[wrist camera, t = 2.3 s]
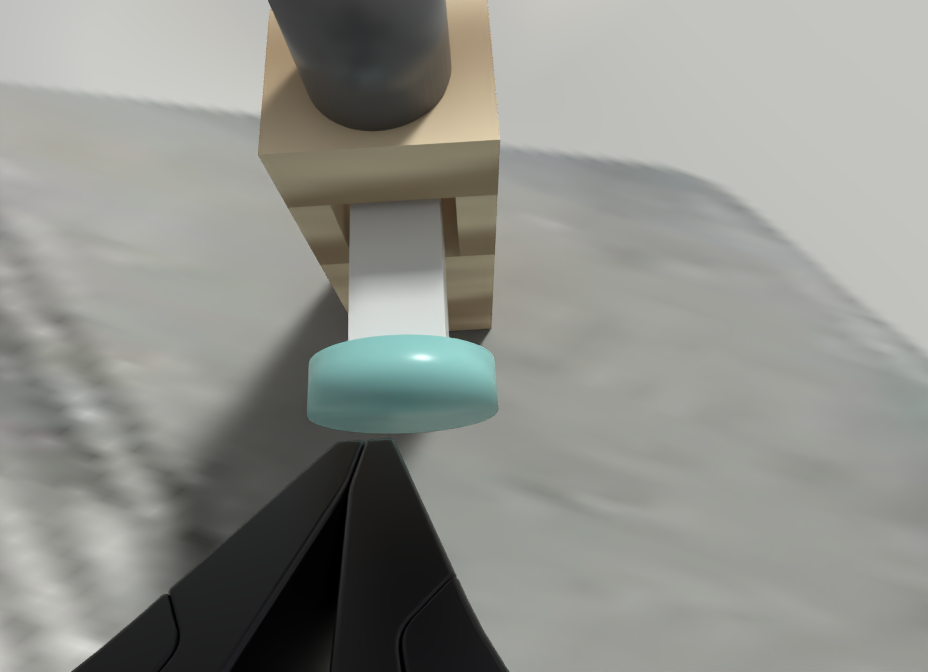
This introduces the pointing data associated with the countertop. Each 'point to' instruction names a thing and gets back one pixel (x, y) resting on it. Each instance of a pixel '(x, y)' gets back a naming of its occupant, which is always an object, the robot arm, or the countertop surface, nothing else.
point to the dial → (369, 57)
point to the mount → (395, 164)
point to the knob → (399, 334)
